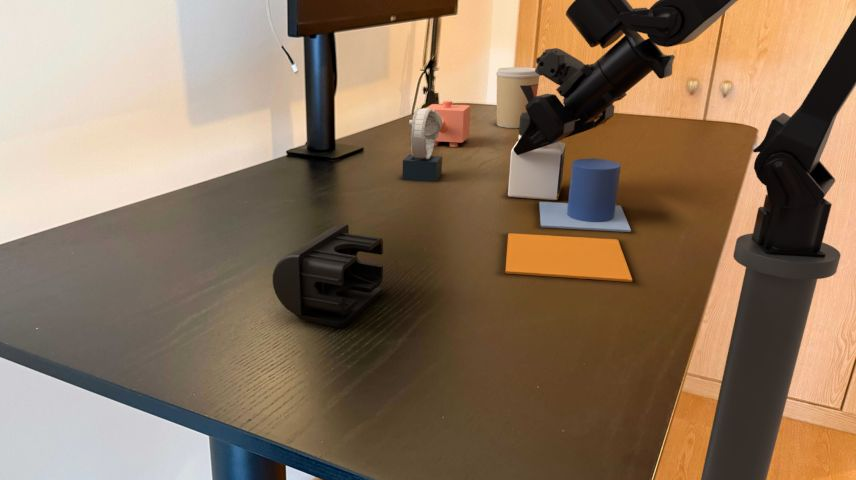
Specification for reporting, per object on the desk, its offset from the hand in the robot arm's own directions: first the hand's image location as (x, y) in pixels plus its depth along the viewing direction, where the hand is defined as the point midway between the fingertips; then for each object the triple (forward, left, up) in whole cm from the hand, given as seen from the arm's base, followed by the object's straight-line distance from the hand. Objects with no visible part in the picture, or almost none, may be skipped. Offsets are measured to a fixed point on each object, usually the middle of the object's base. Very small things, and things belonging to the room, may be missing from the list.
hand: (529, 147), depth 105 cm
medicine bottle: (-1, +1, -7) cm, 7 cm away
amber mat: (-4, +28, -7) cm, 29 cm away
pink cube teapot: (+16, -33, -7) cm, 37 cm away
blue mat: (-7, +12, -7) cm, 15 cm away
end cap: (+19, +46, -7) cm, 50 cm away
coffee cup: (+3, -56, -7) cm, 57 cm away
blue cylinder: (-8, +12, -6) cm, 16 cm away
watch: (+17, -6, -7) cm, 19 cm away
